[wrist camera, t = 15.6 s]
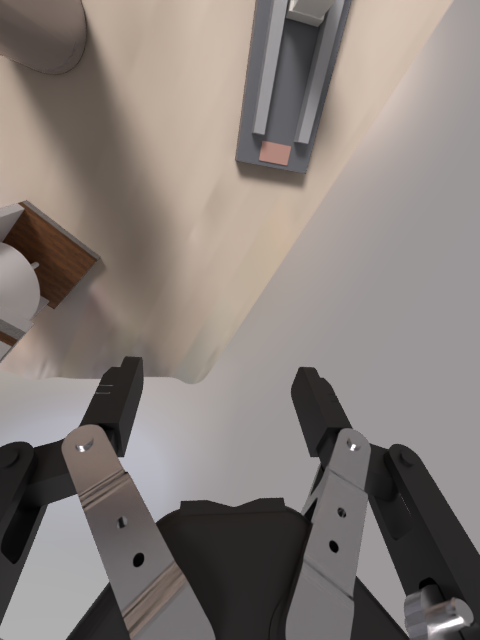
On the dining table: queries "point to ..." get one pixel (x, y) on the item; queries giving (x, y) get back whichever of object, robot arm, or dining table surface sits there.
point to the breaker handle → (308, 10)
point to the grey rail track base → (286, 84)
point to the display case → (34, 268)
